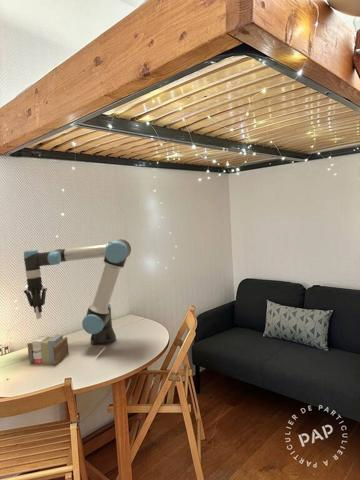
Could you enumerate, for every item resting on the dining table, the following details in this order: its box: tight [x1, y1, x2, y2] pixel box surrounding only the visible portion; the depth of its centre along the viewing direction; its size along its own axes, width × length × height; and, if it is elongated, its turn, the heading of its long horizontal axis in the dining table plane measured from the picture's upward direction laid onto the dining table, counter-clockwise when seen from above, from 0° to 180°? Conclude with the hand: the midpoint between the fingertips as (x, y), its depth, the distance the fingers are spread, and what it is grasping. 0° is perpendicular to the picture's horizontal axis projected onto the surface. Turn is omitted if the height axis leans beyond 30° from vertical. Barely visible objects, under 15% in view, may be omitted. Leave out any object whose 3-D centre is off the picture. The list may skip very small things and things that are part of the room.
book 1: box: [41, 336, 54, 365], centre depth 174 cm, size 4×8×11 cm, turn 173°
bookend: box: [29, 348, 34, 365], centre depth 176 cm, size 2×9×7 cm, turn 173°
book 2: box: [48, 334, 64, 365], centre depth 174 cm, size 4×9×12 cm, turn 173°
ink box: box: [31, 335, 50, 365], centre depth 175 cm, size 9×5×12 cm, turn 174°
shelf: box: [27, 336, 70, 366], centre depth 176 cm, size 23×13×11 cm, turn 83°
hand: (39, 318), depth 188 cm, fingers closed
